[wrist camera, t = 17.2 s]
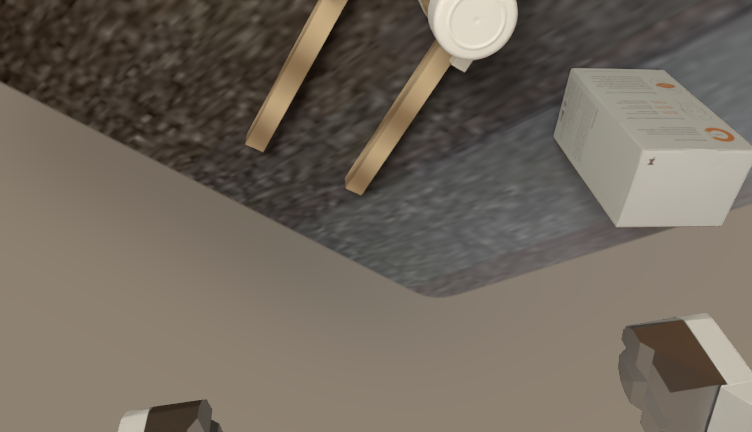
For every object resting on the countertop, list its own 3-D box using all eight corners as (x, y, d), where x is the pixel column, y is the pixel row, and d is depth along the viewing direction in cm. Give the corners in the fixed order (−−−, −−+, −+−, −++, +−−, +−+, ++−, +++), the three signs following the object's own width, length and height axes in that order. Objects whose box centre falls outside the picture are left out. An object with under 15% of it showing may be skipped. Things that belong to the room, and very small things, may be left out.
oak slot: (359, 184, 54) (361, 195, 52) (246, 134, 50) (245, 144, 48) (452, 47, 47) (456, 55, 46) (330, -23, 43) (331, -17, 42)
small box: (551, 137, 53) (613, 229, 42) (569, 66, 49) (642, 148, 39) (641, 137, 54) (723, 229, 43) (666, 68, 50) (762, 149, 40)
